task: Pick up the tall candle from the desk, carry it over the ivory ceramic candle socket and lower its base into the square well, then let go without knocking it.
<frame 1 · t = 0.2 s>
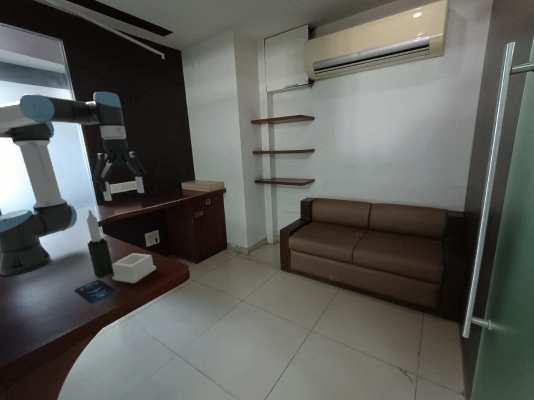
hand: (125, 196, 89), 28 cm above the table, fingers open, 13 cm apart
socket: (135, 274, 87), on the table
smartphone: (95, 292, 78), on the table
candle: (104, 273, 89), on the table
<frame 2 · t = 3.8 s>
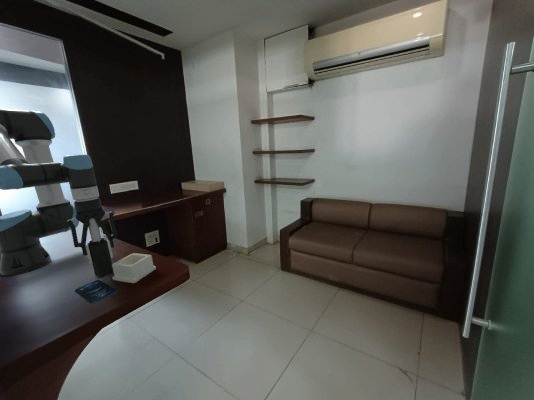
hand: (101, 259, 88), 6 cm above the table, fingers closed on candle, 6 cm apart
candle: (104, 273, 89), on the table, touching gripper
everything else where it was.
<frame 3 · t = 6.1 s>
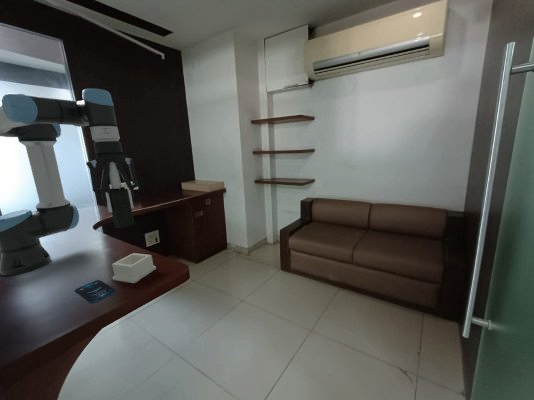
hand: (121, 209, 81), 25 cm above the table, fingers closed on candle, 6 cm apart
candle: (124, 226, 83), point 19 cm above the table, touching gripper
everything else where it was.
when the fingers open (9 cm above the table, at t = 8.7 s): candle drops 2 cm, resting on socket.
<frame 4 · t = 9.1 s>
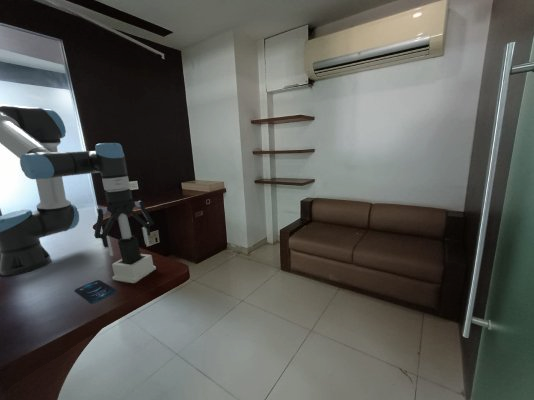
hand: (130, 249, 85), 10 cm above the table, fingers open, 11 cm apart
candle: (134, 271, 87), point 1 cm above the table, touching socket
everything else where it was.
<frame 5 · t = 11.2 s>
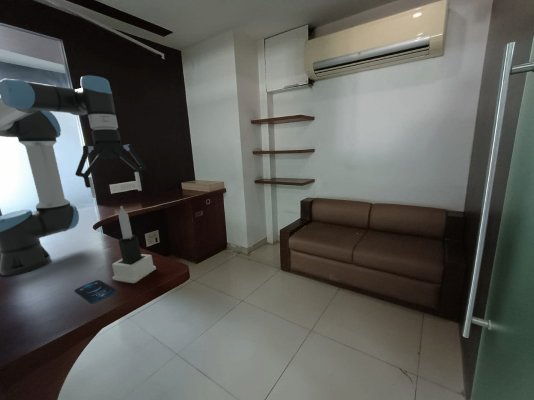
hand: (118, 193, 81), 30 cm above the table, fingers open, 13 cm apart
nothing on the table moved.
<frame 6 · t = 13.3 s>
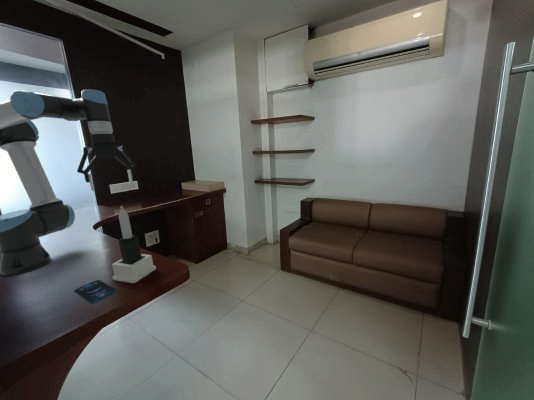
hand: (113, 187, 95), 31 cm above the table, fingers open, 13 cm apart
nothing on the table moved.
at the end: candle 0.0 cm off-centre on the socket, point 1.0 cm above the socket's base; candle tilted 0°; the gripper is holding nothing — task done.
